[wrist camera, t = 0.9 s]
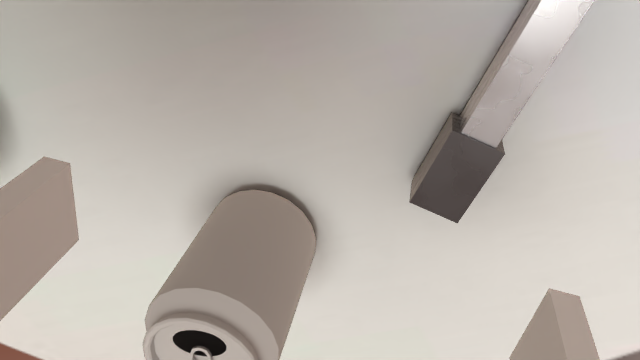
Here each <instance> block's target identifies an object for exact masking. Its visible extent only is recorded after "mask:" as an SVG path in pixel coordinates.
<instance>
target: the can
mask: <svg viewBox="0 0 640 360" xmlns="http://www.w3.org/2000/svg"><path fill="white" fill-rule="evenodd" d="M315 247H316V237H315V234H314V230H313V227H312V224H311V223H310V222H309V220H308V219H307V217H306V216H305V214H304V213H303V211H301V210H300V209H299V208H298V207H296V206H295V205H294V204H293V203H292V202H290V201H289V200H287V199H285V198H283V197H281V196H279V195H276V194H274V193H272V192H266V191H260V190H246V191H238V192H236V193H234V194H232V195H230V196H227V197H225V198H224V199H223V200H222V201H221V202H220V203H219V205H218V206H217V207H216V208H215V209H214V211H213V212H212V214H211V215H210V217H209V218H208V220H207V221H206V223H205V224H204V225H203V227H202V228H201V230H200V231H199V233H198V234H197V236H196V237H195V239H194V240H193V242H192V243H191V245H190V246H189V248H188V249H187V251H186V252H185V254H184V255H183V256H182V258H181V259H180V261H179V262H178V264H177V265H176V267H175V268H174V270H173V271H172V273H171V274H170V276H169V277H168V279H167V280H166V282H165V283H164V285H163V286H162V288H161V289H160V290H159V292H158V293H157V295H156V296H155V298H154V299H153V301H152V302H151V304H150V305H149V307H148V311H147V314H146V317H145V325H146V331H147V332H146V335H145V338H144V341H143V350H144V356H145V358H146V360H279V359H280V356H281V353H282V350H283V347H284V344H285V341H286V338H287V335H288V332H289V329H290V326H291V323H292V320H293V317H294V314H295V311H296V308H297V305H298V302H299V299H300V296H301V293H302V290H303V287H304V284H305V281H306V278H307V275H308V272H309V269H310V266H311V263H312V260H313V257H314V254H315Z"/></svg>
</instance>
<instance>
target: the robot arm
mask: <svg viewBox="0 0 640 360" xmlns="http://www.w3.org/2000/svg"><path fill="white" fill-rule="evenodd" d="M78 240H79V236H78V228H77V219H76V211H75V202H74V193H73V185H72V176H71V168H70V163H67V162H63V161H59V160H55V159H52V158H48V157H43V158H42V159H40V160H39V161H37V162H36V163H35V164H33V165H32V166H31V167H29V168H28V169H26V170H25V171H24V172H22V173H21V174H20V175H18V176H17V177H16V178H14V179H13V180H11V181H10V182H9V183H7V184H6V185H5V186H3V187H2V188H0V321H1V320H2V319H3V318H4V317H5V315H6V314H7V313H8V312H9V311H10V310H11V309H12V308H13V307H14V306H15V305H16V304H17V303H18V302H19V301H20V300H21V299H22V298H23V297H24V296H25V295H26V294H27V293H28V292H29V291H30V290H31V289H32V288H33V287H34V286H35V285H36V284H37V283H38V281H39V280H40V279H41V278H42V277H43V276H44V275H45V274H46V273H47V272H48V271H49V270H50V269H51V268H52V267H53V266H54V265H55V264H56V263H57V262H58V261H59V260H60V259H61V258H62V257H63V256H64V255H65V254H66V253H67V252H68V251H69V250H70V249H71V247H72V246H73V245H74V244H75V243H76V242H77V241H78ZM510 360H600V359H599V356H598V353H597V349H596V346H595V343H594V340H593V337H592V334H591V331H590V328H589V325H588V321H587V318H586V315H585V312H584V309H583V306H582V303H581V300H580V297H579V296H576V295H572V294H569V293H565V292H561V291H557V290H553V289H549V290H548V291H547V293H546V295H545V297H544V298H543V300H542V302H541V304H540V305H539V307H538V309H537V311H536V312H535V314H534V316H533V318H532V319H531V321H530V323H529V325H528V326H527V328H526V330H525V332H524V333H523V335H522V337H521V339H520V340H519V342H518V344H517V346H516V347H515V349H514V351H513V353H512V354H511V356H510Z"/></svg>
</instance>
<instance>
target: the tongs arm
mask: <svg viewBox="0 0 640 360" xmlns="http://www.w3.org/2000/svg"><path fill="white" fill-rule="evenodd" d="M594 1H595V0H529V1H528V2H527V4H526V6H525V7H524V9H523V11H522V12H521V14H520V16H519V17H518V19H517V21H516V22H515V24H514V26H513V27H512V29H511V31H510V33H509V34H508V36H507V38H506V39H505V41H504V43H503V44H502V46H501V48H500V49H499V51H498V53H497V54H496V56H495V58H494V59H493V61H492V63H491V64H490V66H489V68H488V69H487V71H486V73H485V75H484V76H483V78H482V80H481V81H480V83H479V85H478V86H477V88H476V90H475V91H474V93H473V95H472V96H471V98H470V100H469V101H468V103H467V105H466V106H465V108H464V110H463V111H462V113H461V115H460V116H459V115H457V114H454V113H451V114H450V116H449V118H448V119H447V121H446V123H445V125H444V126H443V128H442V130H441V132H440V133H439V135H438V137H437V138H436V140H435V142H434V144H433V145H432V147H431V149H430V150H429V152H428V154H427V156H426V157H425V159H424V161H423V162H422V164H421V166H420V168H419V169H418V171H417V173H416V174H415V176H414V178H413V180H412V183H411V193H410V203H412V204H415V205H417V206H419V207H422V208H424V209H426V210H428V211H431V212H433V213H435V214H437V215H440V216H442V217H444V218H447V219H449V220H451V221H453V222H456V223H458V222H459V220H460V219H461V217H462V216H463V214H464V213H465V211H466V210H467V209H468V207H469V206H470V204H471V203H472V201H473V200H474V198H475V197H476V195H477V194H478V192H479V191H480V190H481V188H482V187H483V185H484V184H485V182H486V181H487V179H488V178H489V176H490V175H491V174H492V172H493V171H494V169H495V168H496V166H497V165H498V163H499V162H500V160H501V159H502V157H503V156H504V155H505V152H504V147H503V143H502V138H503V137H504V135H505V134H506V132H507V131H508V129H509V128H510V126H511V125H512V123H513V122H514V120H515V119H516V117H517V116H518V114H519V113H520V111H521V110H522V108H523V107H524V105H525V104H526V102H527V101H528V99H529V98H530V96H531V95H532V93H533V92H534V90H535V89H536V87H537V86H538V84H539V83H540V81H541V80H542V78H543V77H544V75H545V74H546V72H547V71H548V69H549V68H550V66H551V65H552V63H553V62H554V60H555V59H556V57H557V56H558V54H559V53H560V51H561V50H562V48H563V47H564V45H565V44H566V42H567V41H568V39H569V38H570V36H571V35H572V33H573V32H574V30H575V29H576V27H577V26H578V24H579V23H580V21H581V20H582V18H583V17H584V16H585V14H586V13H587V11H588V10H589V8H590V7H591V5H592V4H593V2H594Z"/></svg>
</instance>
